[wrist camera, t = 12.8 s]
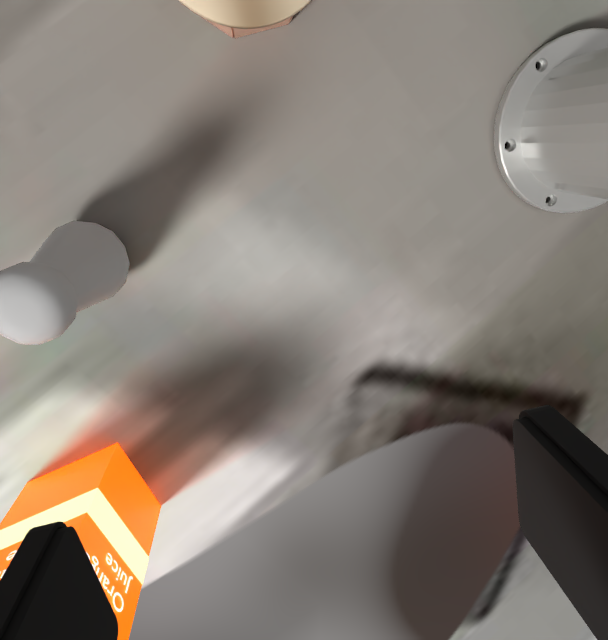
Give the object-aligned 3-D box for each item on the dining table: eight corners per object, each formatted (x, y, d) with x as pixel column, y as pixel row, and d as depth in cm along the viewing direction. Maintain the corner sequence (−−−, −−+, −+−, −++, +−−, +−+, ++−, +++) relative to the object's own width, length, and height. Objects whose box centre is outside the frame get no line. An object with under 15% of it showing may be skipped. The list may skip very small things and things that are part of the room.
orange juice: (25, 481, 43) (-149, 744, 24) (117, 440, 43) (13, 676, 24) (76, 544, 46) (-45, 825, 27) (163, 507, 45) (101, 765, 27)
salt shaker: (37, 245, 37) (-69, 296, 24) (99, 200, 36) (21, 230, 24) (92, 307, 38) (19, 384, 26) (152, 265, 38) (105, 324, 26)
